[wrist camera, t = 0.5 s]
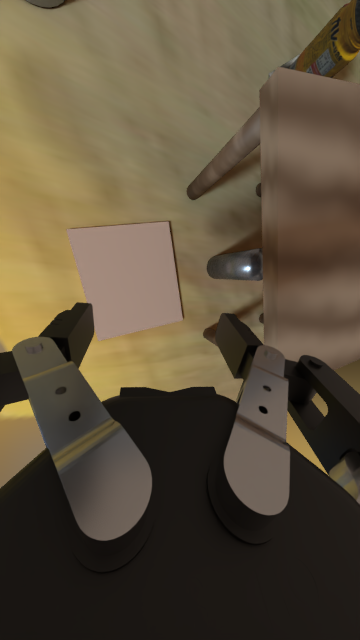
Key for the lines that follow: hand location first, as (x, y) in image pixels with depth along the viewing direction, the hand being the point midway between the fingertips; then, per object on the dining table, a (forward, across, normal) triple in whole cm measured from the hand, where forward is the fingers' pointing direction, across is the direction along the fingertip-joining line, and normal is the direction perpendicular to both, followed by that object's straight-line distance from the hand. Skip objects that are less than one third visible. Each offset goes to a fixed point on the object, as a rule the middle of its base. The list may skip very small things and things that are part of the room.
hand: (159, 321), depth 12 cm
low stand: (+28, -17, +1) cm, 33 cm away
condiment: (+39, -24, -30) cm, 54 cm away
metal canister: (+27, -13, +2) cm, 30 cm away
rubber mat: (+23, +3, +5) cm, 24 cm away
